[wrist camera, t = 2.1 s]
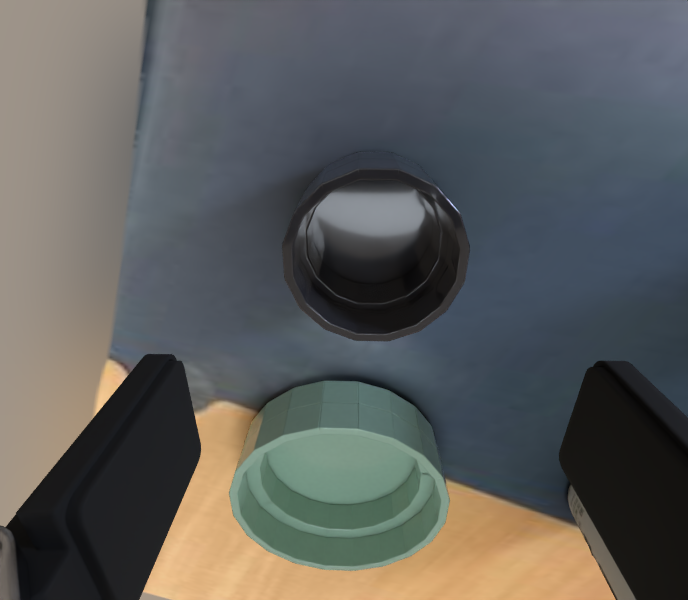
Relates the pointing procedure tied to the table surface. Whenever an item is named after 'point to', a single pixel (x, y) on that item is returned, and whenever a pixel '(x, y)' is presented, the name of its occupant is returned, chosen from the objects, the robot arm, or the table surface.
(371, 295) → the charcoal bowl
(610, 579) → the spray can
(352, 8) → the table surface
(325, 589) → the table surface
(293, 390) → the celadon bowl
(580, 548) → the table surface
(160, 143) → the table surface
